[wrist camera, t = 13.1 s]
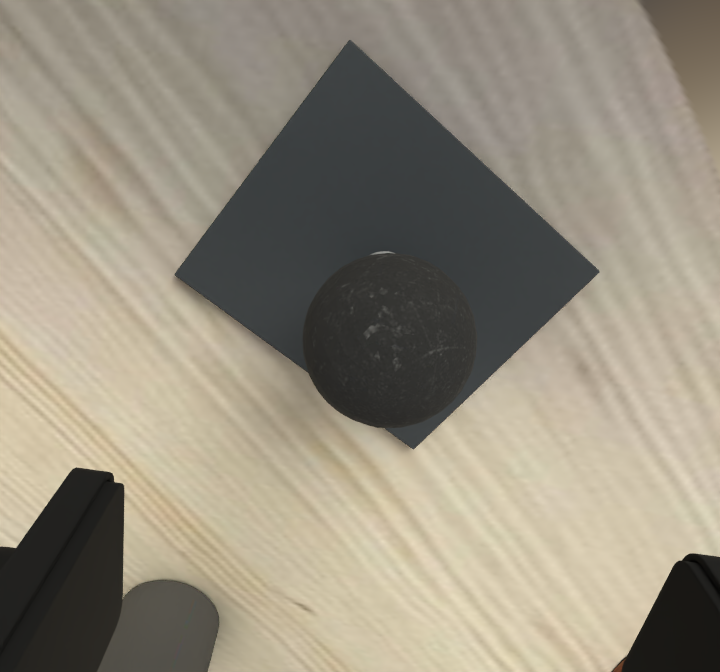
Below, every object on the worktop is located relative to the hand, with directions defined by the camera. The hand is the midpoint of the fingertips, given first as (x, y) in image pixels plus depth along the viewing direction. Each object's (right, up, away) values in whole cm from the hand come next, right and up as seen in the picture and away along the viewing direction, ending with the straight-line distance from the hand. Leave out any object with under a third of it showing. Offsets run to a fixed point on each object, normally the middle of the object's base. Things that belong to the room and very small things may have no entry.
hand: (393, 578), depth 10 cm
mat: (+1, +7, +16) cm, 18 cm away
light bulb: (0, +7, +16) cm, 18 cm away
